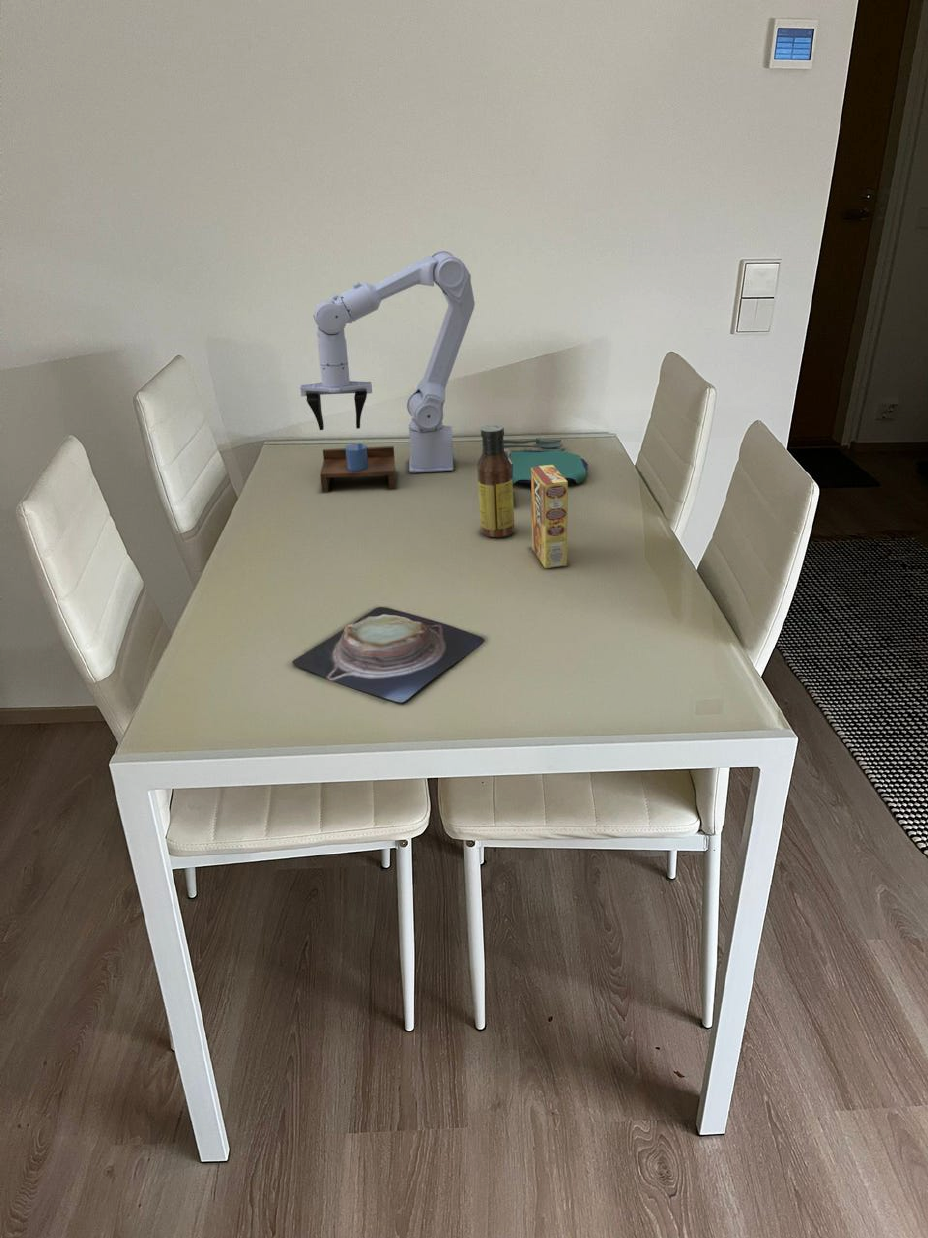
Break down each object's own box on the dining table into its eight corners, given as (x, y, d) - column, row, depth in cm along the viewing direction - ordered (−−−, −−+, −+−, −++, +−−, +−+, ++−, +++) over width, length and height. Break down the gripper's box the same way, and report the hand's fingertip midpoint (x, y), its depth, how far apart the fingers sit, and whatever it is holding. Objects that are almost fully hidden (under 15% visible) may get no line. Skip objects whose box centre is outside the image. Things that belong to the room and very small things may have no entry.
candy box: (568, 566, 163) (570, 481, 156) (544, 569, 162) (545, 483, 155) (552, 546, 171) (554, 463, 164) (529, 548, 170) (530, 466, 163)
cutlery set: (496, 492, 195) (495, 481, 194) (489, 445, 221) (489, 436, 220) (593, 489, 195) (594, 478, 194) (576, 442, 221) (576, 433, 220)
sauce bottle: (515, 525, 179) (514, 421, 170) (513, 539, 174) (512, 432, 164) (480, 525, 180) (478, 421, 171) (477, 538, 175) (474, 432, 165)
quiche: (402, 706, 127) (400, 680, 125) (288, 665, 137) (285, 641, 135) (487, 639, 142) (486, 615, 140) (379, 607, 152) (377, 584, 150)
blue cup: (368, 463, 201) (367, 442, 199) (368, 470, 197) (366, 449, 195) (347, 464, 201) (345, 443, 198) (346, 471, 197) (344, 450, 195)
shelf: (395, 472, 207) (393, 445, 204) (395, 489, 198) (393, 461, 196) (325, 475, 207) (323, 448, 204) (322, 492, 198) (319, 464, 195)
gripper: (296, 369, 192) (303, 435, 198) (369, 366, 192) (374, 432, 199) (299, 360, 198) (306, 425, 204) (370, 357, 198) (375, 422, 205)
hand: (340, 427), depth 202 cm, fingers open, 7 cm apart
